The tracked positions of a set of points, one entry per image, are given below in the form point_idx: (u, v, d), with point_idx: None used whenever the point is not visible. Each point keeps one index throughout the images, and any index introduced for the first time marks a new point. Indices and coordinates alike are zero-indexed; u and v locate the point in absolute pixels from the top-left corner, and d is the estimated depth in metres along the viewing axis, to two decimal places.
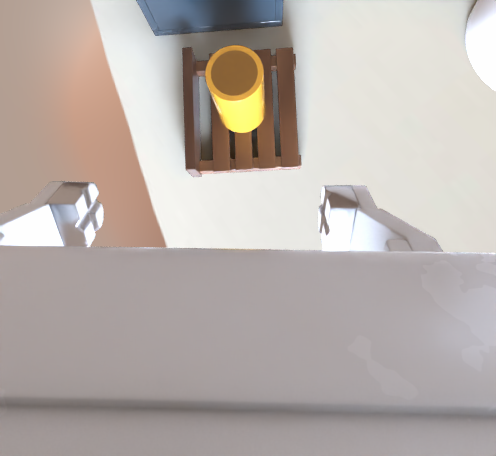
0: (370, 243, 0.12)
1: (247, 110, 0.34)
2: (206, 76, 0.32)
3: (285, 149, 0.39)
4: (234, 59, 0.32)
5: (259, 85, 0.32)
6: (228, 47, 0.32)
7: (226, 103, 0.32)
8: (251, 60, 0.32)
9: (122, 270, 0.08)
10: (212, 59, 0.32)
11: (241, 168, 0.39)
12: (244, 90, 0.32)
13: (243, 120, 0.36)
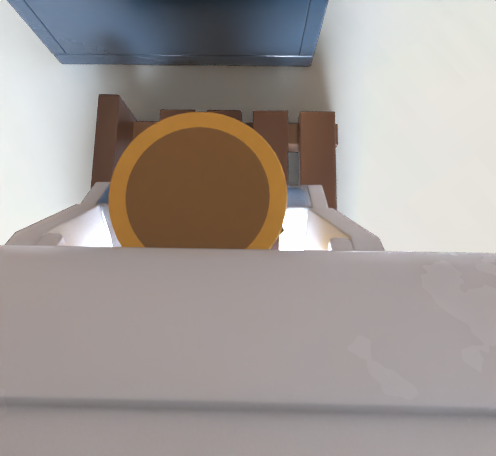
0: (321, 242, 0.12)
1: None
2: (111, 198, 0.10)
3: None
4: (202, 154, 0.11)
5: (272, 241, 0.10)
6: (186, 117, 0.11)
7: None
8: (251, 161, 0.11)
9: (122, 270, 0.08)
10: (135, 147, 0.11)
11: None
12: None
13: None
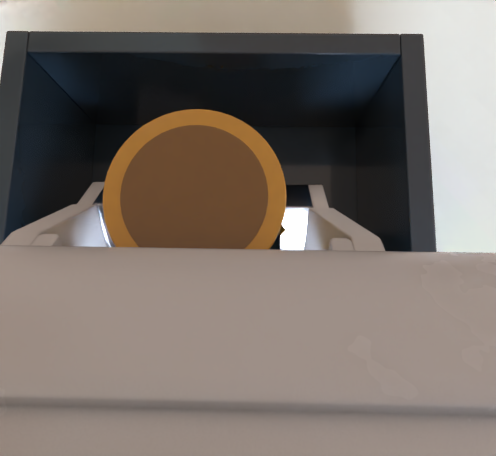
0: (321, 242, 0.12)
1: None
2: (105, 198, 0.10)
3: None
4: (199, 153, 0.10)
5: (271, 242, 0.10)
6: (183, 114, 0.11)
7: None
8: (250, 160, 0.10)
9: (122, 270, 0.08)
10: (130, 145, 0.10)
11: None
12: None
13: None
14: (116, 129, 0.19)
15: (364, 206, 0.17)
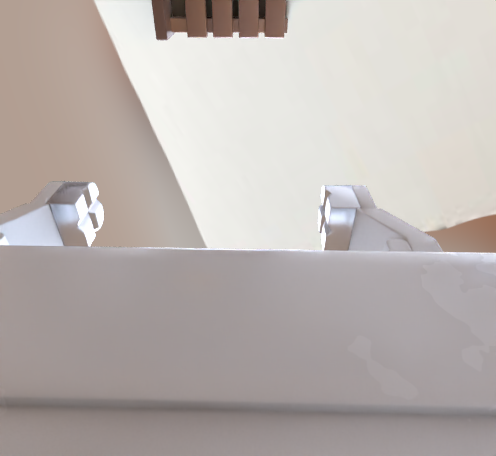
0: (370, 243, 0.12)
1: None
2: None
3: (270, 13, 0.34)
4: None
5: None
6: None
7: None
8: None
9: (122, 270, 0.08)
10: None
11: (219, 35, 0.35)
12: None
13: None
14: None
15: None
